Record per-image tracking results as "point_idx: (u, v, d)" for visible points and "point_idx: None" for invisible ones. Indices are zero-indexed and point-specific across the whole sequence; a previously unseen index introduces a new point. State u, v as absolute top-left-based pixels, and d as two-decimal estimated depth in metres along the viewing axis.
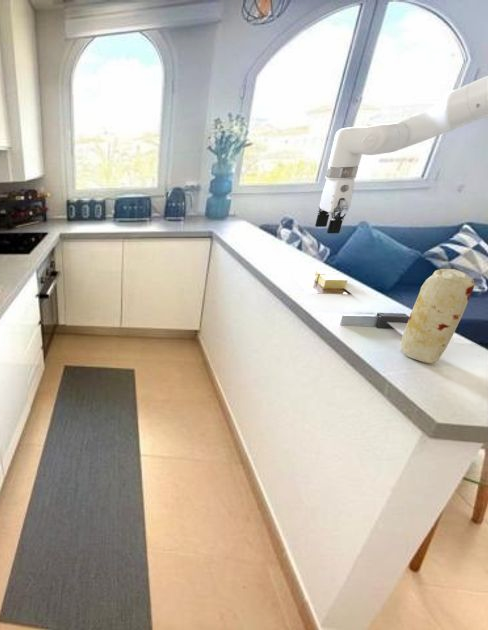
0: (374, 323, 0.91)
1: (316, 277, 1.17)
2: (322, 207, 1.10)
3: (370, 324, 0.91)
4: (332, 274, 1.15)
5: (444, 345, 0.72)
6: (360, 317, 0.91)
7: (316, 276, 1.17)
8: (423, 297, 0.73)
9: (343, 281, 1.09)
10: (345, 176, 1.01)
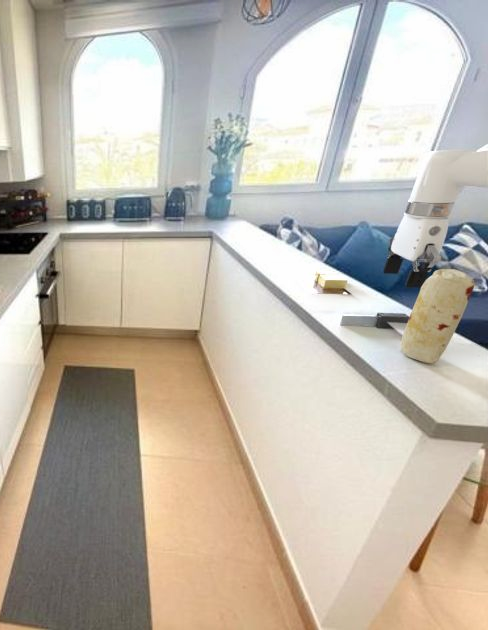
0: (374, 323, 0.91)
1: (316, 277, 1.17)
2: (396, 251, 0.85)
3: (370, 324, 0.91)
4: (332, 274, 1.15)
5: (444, 345, 0.72)
6: (360, 317, 0.91)
7: (316, 276, 1.17)
8: (423, 297, 0.73)
9: (343, 281, 1.09)
10: (437, 215, 0.76)
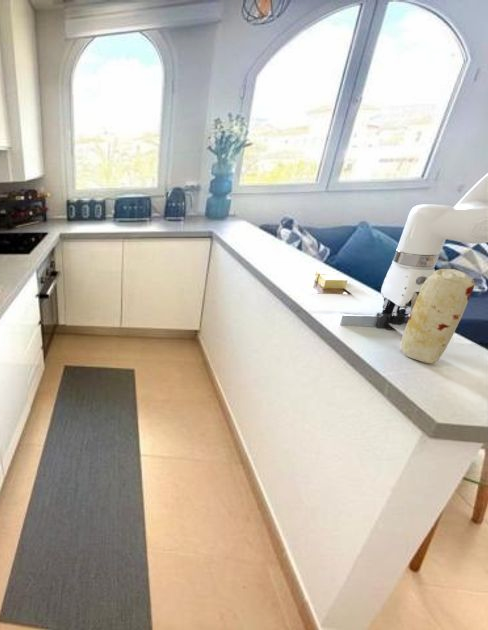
0: (374, 323, 0.91)
1: (316, 277, 1.17)
2: (386, 295, 0.89)
3: (370, 324, 0.91)
4: (332, 274, 1.15)
5: (444, 345, 0.72)
6: (360, 317, 0.91)
7: (316, 276, 1.17)
8: (423, 297, 0.73)
9: (343, 281, 1.09)
10: (423, 265, 0.79)
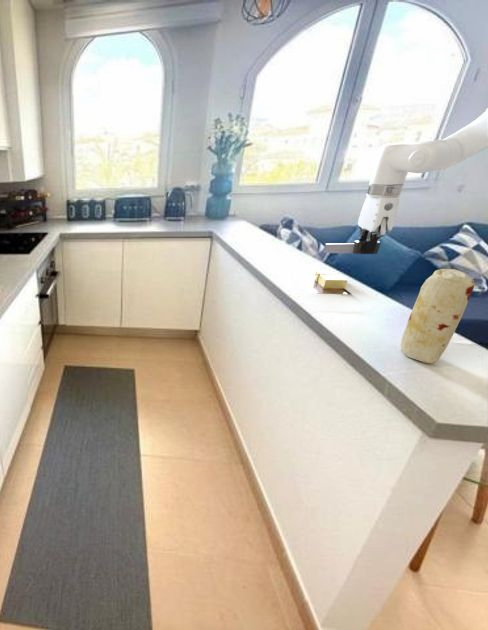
0: (352, 250, 1.07)
1: (316, 277, 1.17)
2: (361, 225, 1.05)
3: (348, 251, 1.08)
4: (332, 274, 1.15)
5: (444, 345, 0.72)
6: (340, 245, 1.08)
7: (316, 276, 1.17)
8: (423, 297, 0.73)
9: (343, 281, 1.09)
10: (389, 194, 0.96)
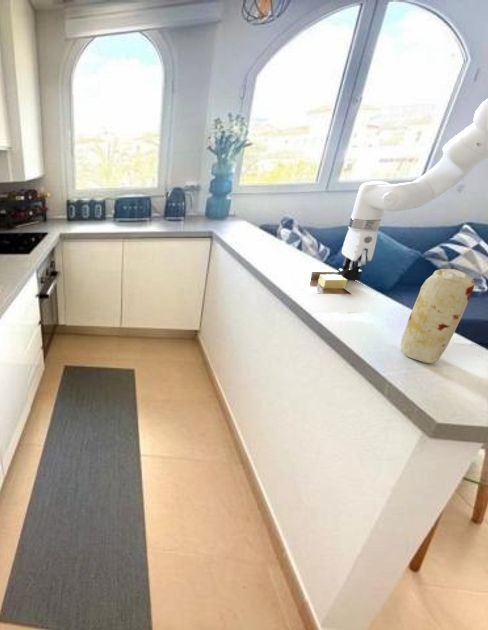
0: None
1: None
2: (345, 254, 1.15)
3: None
4: None
5: (444, 345, 0.72)
6: (325, 272, 1.17)
7: None
8: (423, 297, 0.73)
9: (343, 281, 1.09)
10: (369, 228, 1.06)
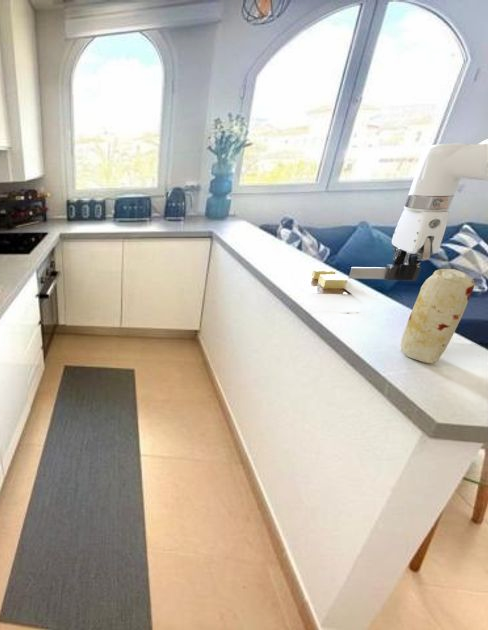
0: (384, 275, 0.88)
1: (313, 275, 1.19)
2: (397, 244, 0.86)
3: (380, 276, 0.88)
4: (329, 272, 1.17)
5: (444, 345, 0.72)
6: (369, 269, 0.88)
7: (313, 274, 1.19)
8: (423, 297, 0.73)
9: (343, 281, 1.09)
10: (436, 208, 0.77)
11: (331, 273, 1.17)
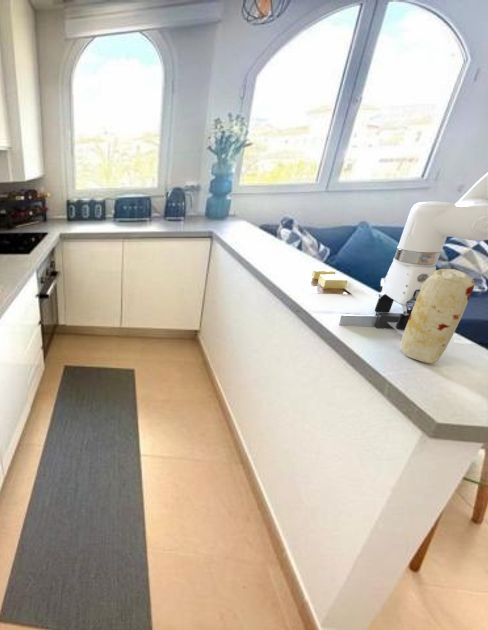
0: (373, 323, 0.91)
1: (313, 275, 1.19)
2: (387, 293, 0.88)
3: (369, 324, 0.91)
4: (329, 272, 1.17)
5: (444, 345, 0.72)
6: (359, 317, 0.91)
7: (313, 274, 1.19)
8: (423, 297, 0.73)
9: (343, 281, 1.09)
10: (424, 263, 0.79)
11: (331, 273, 1.17)
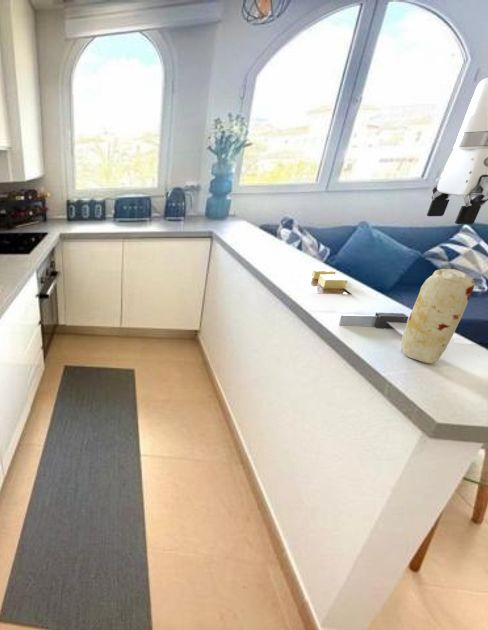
0: (373, 323, 0.91)
1: (313, 275, 1.19)
2: (444, 189, 0.82)
3: (369, 324, 0.91)
4: (329, 272, 1.17)
5: (444, 345, 0.72)
6: (359, 317, 0.91)
7: (313, 274, 1.19)
8: (423, 297, 0.73)
9: (343, 281, 1.09)
10: None
11: (331, 273, 1.17)
